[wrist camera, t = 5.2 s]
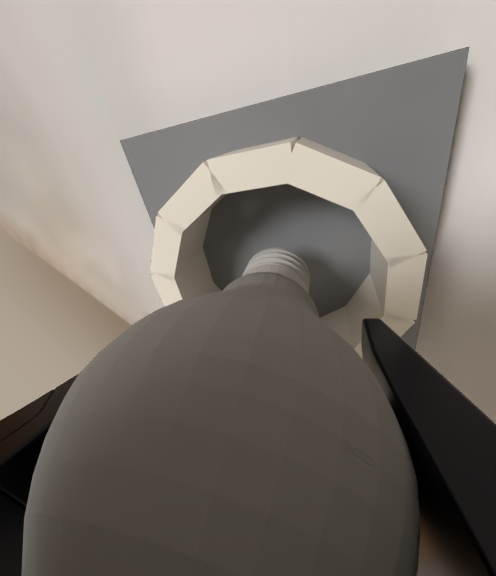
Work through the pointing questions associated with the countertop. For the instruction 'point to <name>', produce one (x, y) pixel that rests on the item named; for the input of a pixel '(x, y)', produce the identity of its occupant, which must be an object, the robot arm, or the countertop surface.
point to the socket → (310, 192)
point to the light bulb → (226, 448)
